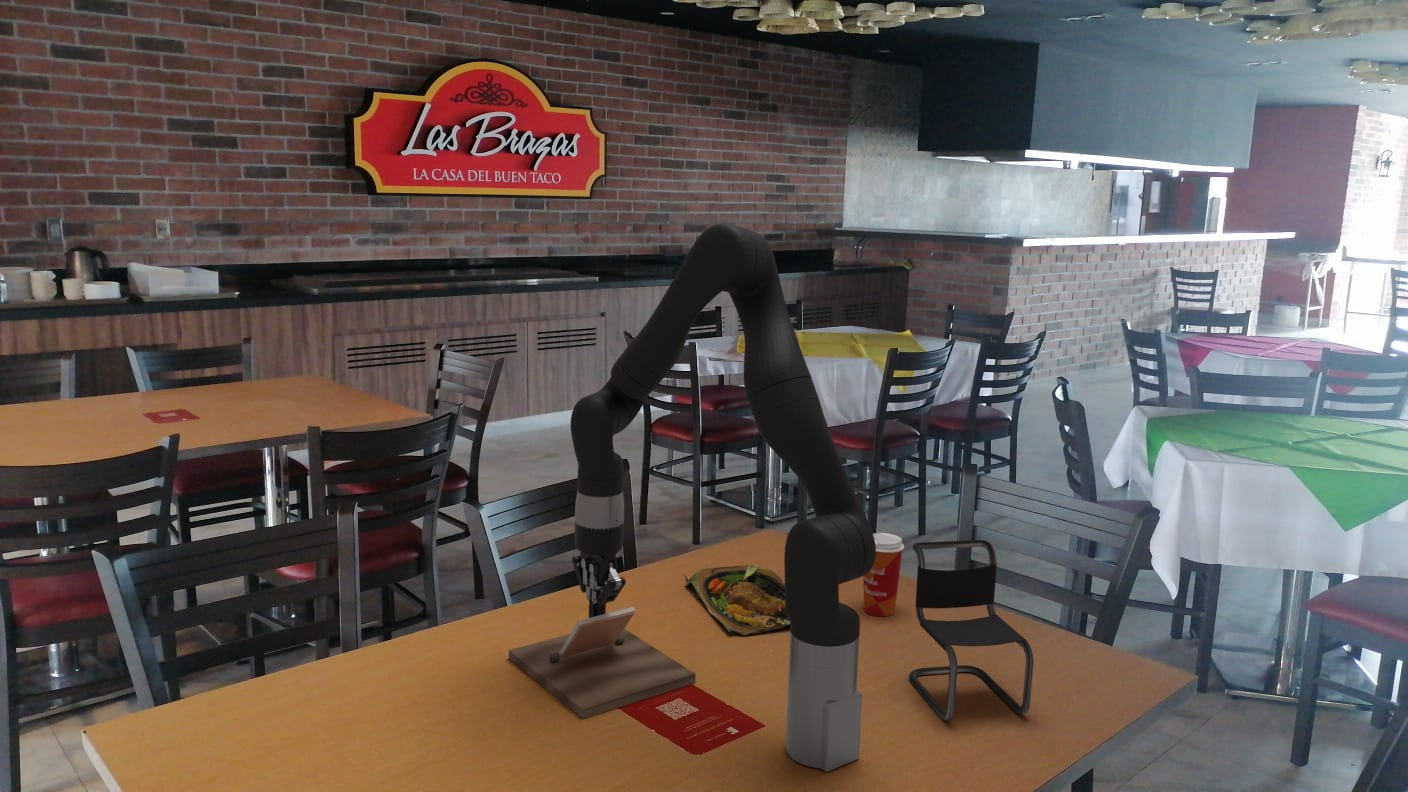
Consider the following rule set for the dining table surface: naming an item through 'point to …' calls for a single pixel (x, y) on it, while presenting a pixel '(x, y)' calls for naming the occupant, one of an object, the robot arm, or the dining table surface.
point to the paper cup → (883, 576)
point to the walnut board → (602, 673)
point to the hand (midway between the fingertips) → (596, 622)
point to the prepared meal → (742, 597)
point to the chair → (964, 622)
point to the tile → (596, 632)
